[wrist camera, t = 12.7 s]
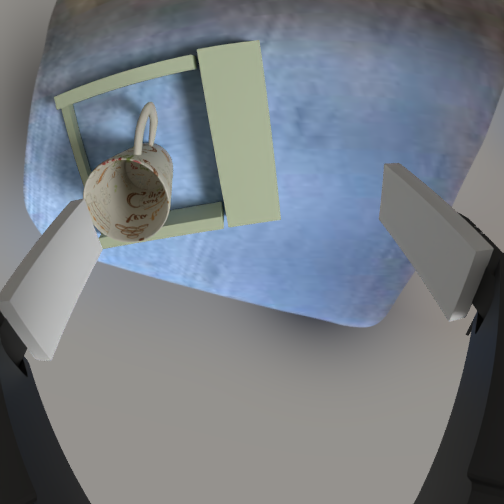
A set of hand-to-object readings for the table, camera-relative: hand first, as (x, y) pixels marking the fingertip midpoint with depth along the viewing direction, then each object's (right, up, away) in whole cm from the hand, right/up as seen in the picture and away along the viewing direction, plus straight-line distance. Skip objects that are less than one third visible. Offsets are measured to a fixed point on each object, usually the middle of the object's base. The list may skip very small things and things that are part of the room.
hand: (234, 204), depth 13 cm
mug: (-11, +10, +21) cm, 25 cm away
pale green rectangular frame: (-9, +10, +20) cm, 24 cm away
